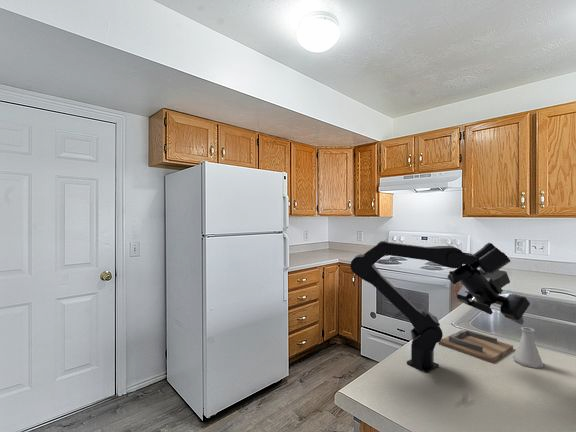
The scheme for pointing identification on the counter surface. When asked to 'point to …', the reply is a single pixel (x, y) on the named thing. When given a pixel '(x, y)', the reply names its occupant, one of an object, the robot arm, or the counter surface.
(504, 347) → the board
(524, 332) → the flask
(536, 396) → the counter surface
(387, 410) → the counter surface
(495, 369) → the counter surface
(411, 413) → the counter surface
